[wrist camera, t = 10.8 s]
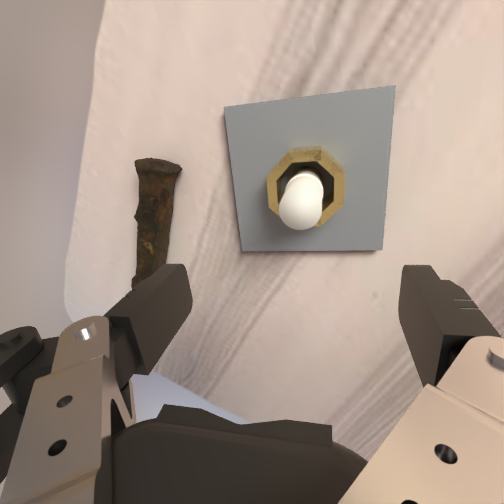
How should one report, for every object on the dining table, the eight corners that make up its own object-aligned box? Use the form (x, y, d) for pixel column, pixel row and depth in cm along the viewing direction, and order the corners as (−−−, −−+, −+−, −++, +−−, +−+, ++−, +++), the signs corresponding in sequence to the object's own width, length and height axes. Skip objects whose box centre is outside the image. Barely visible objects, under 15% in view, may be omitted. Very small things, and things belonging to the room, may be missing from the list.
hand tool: (151, 152, 31) (124, 158, 27) (186, 163, 31) (165, 171, 27) (137, 294, 40) (115, 315, 36) (165, 304, 39) (146, 327, 35)
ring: (342, 143, 26) (345, 148, 22) (340, 213, 28) (343, 225, 25) (271, 149, 27) (264, 154, 24) (275, 215, 29) (270, 227, 26)
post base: (392, 86, 24) (434, 70, 15) (380, 245, 30) (405, 303, 21) (227, 107, 27) (181, 104, 18) (244, 246, 33) (215, 297, 24)
